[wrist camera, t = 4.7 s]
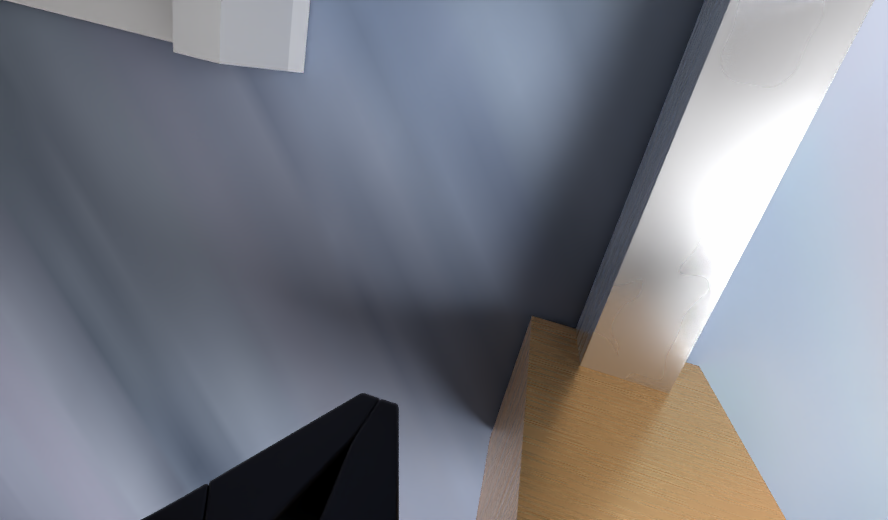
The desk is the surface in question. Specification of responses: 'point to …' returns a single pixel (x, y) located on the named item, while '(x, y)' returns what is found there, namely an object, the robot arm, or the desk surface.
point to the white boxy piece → (669, 290)
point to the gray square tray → (206, 27)
